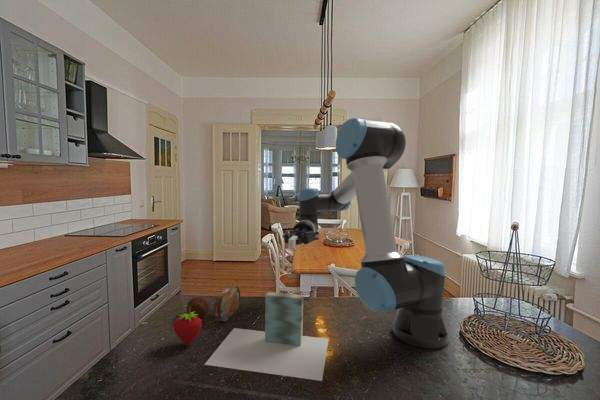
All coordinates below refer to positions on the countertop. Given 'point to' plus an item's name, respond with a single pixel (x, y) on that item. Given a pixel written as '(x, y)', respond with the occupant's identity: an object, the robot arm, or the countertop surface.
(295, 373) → the mat
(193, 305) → the potato
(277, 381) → the countertop surface
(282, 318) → the board
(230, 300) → the tin
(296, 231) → the robot arm
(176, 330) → the strawberry
